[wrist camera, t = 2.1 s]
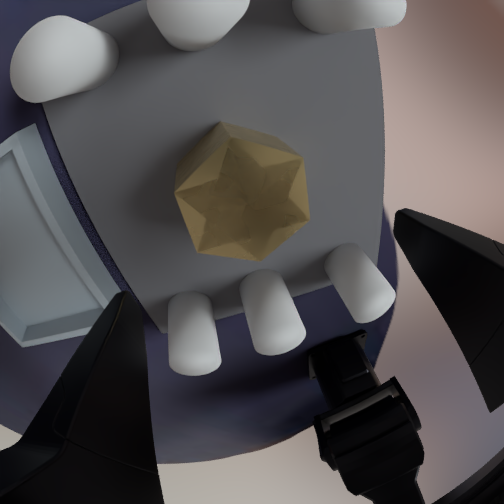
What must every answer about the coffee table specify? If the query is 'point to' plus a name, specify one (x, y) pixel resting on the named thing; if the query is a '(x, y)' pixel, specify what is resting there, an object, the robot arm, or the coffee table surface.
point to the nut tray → (44, 251)
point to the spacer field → (197, 126)
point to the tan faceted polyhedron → (241, 192)
